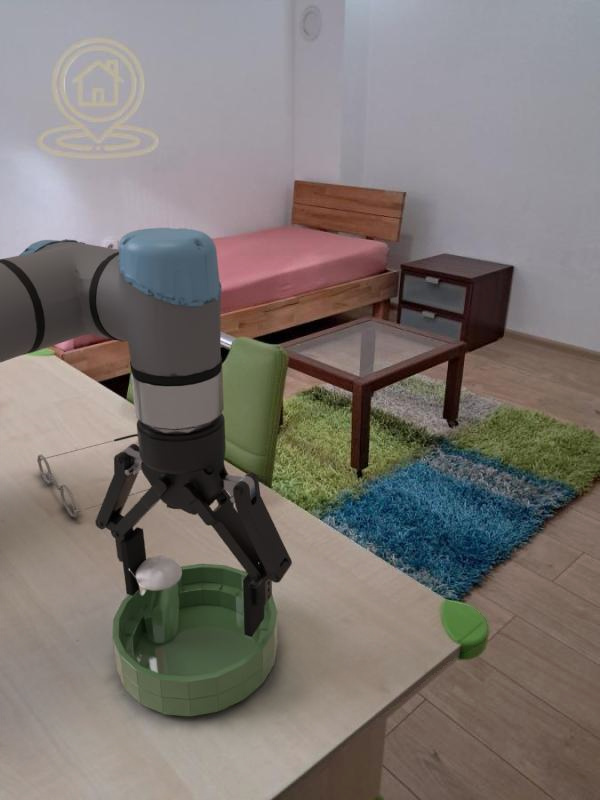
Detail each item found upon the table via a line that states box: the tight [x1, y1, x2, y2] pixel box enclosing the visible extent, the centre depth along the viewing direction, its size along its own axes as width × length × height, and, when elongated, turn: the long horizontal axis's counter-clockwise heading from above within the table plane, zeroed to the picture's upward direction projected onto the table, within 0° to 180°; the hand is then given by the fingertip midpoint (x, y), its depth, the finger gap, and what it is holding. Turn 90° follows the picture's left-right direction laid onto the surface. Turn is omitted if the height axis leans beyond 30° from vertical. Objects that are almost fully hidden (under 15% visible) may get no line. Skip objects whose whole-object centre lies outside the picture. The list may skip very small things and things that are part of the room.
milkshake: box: [128, 555, 182, 643], centre depth 65 cm, size 4×5×10 cm
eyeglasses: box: [36, 433, 150, 518], centre depth 97 cm, size 18×19×4 cm
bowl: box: [111, 563, 278, 717], centre depth 65 cm, size 16×16×5 cm
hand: (193, 606), depth 63 cm, fingers open, 13 cm apart
